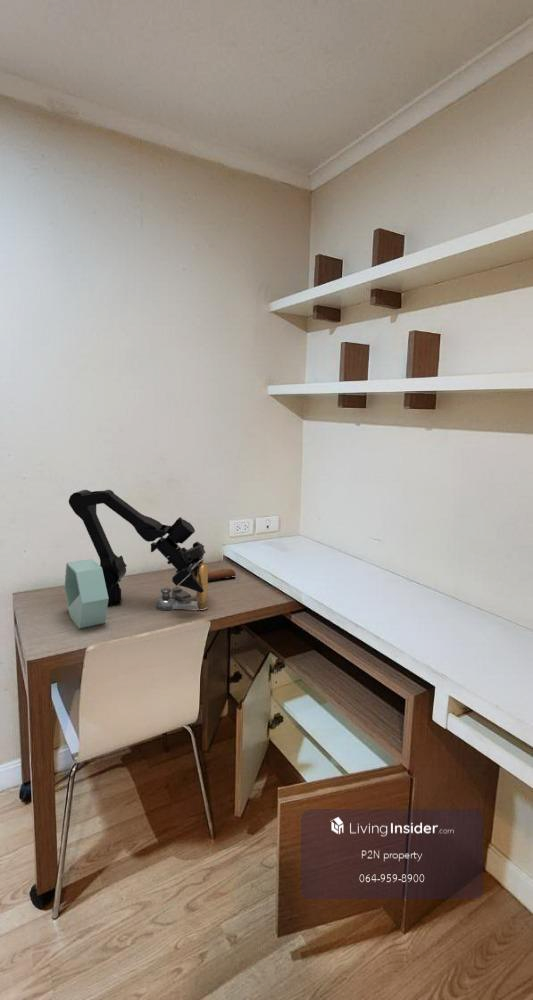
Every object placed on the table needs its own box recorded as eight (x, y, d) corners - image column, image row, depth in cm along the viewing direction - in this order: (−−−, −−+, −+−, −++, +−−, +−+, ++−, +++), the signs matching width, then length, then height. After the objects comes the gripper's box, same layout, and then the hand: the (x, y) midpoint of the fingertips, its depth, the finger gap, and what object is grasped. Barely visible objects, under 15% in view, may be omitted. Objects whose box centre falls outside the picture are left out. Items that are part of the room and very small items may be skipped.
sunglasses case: (227, 572, 206) (230, 560, 202) (233, 585, 202) (237, 574, 198) (184, 578, 198) (187, 566, 194) (190, 592, 193) (193, 580, 189)
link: (154, 610, 166) (154, 565, 163) (159, 603, 172) (158, 560, 169) (205, 612, 165) (206, 567, 163) (208, 605, 171) (209, 562, 168)
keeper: (180, 607, 169) (180, 595, 168) (169, 600, 175) (169, 588, 174) (191, 604, 172) (191, 593, 171) (180, 598, 177) (180, 586, 177)
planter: (73, 634, 157) (60, 570, 163) (98, 628, 162) (85, 567, 168) (85, 622, 144) (71, 553, 150) (112, 616, 149) (98, 550, 155)
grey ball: (162, 600, 166) (162, 592, 165) (159, 597, 169) (159, 588, 168) (172, 599, 167) (172, 590, 167) (169, 595, 170) (169, 587, 170)
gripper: (182, 544, 155) (217, 580, 156) (197, 529, 173) (228, 562, 174) (157, 567, 157) (192, 603, 158) (174, 550, 176) (205, 583, 176)
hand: (206, 586), depth 167 cm, fingers open, 9 cm apart
